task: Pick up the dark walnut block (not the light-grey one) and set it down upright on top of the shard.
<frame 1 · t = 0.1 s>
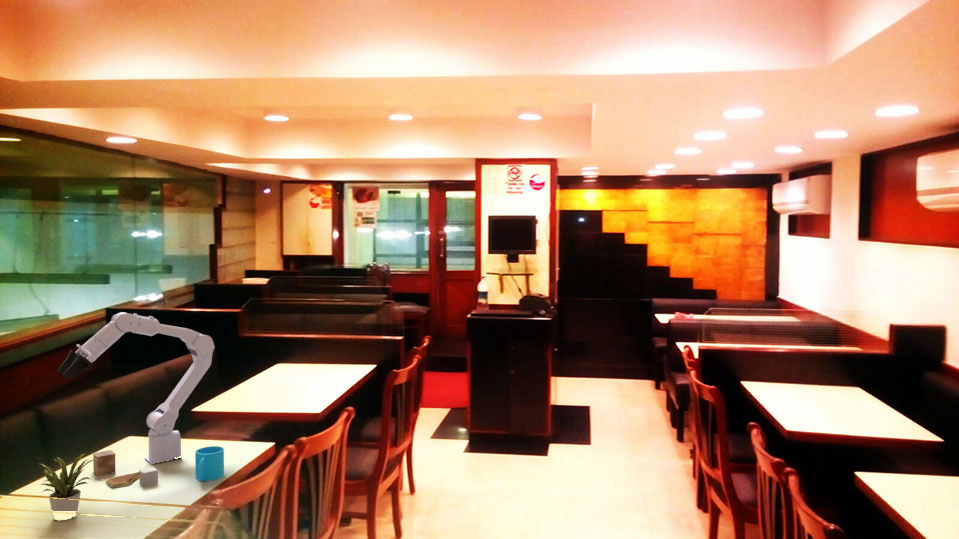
hand: (62, 375, 198), 32 cm above the table, tool tilted 50°, fingers open, 7 cm apart
light-grey block: (148, 483, 197), on the table
mug: (207, 479, 201), on the table
walnut block: (104, 472, 206), on the table
house plant: (71, 516, 173), on the table
shard: (122, 483, 198), on the table
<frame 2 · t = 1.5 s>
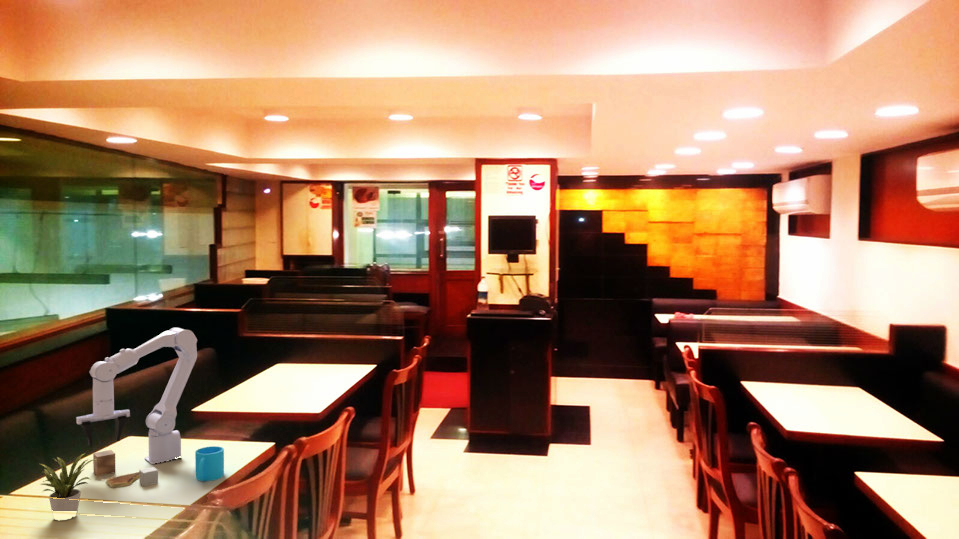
hand: (104, 442, 206), 9 cm above the table, tool pointing down, fingers open, 7 cm apart
nothing on the table moved.
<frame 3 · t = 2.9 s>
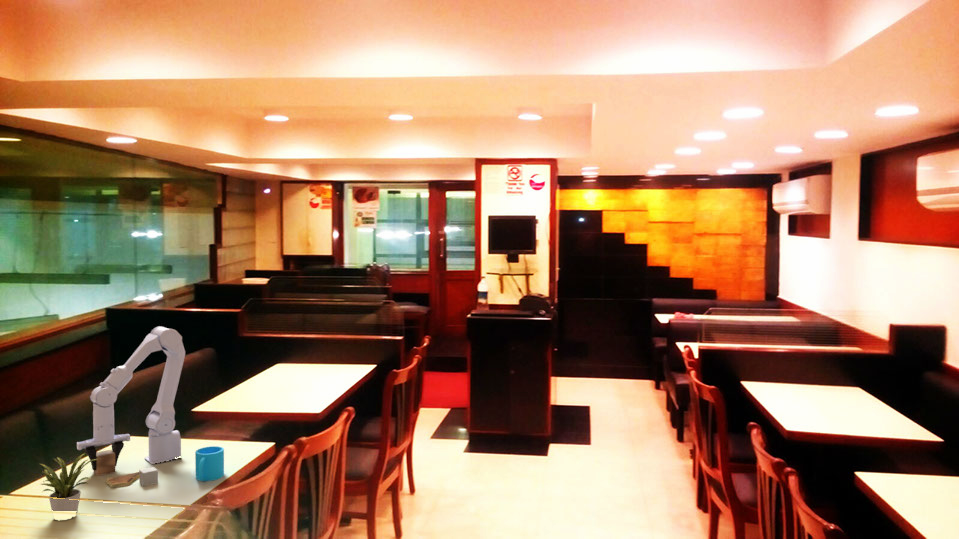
hand: (104, 467, 206), 1 cm above the table, tool pointing down, fingers closed on walnut block, 5 cm apart
walnut block: (104, 472, 206), on the table, touching gripper
everything else where it was.
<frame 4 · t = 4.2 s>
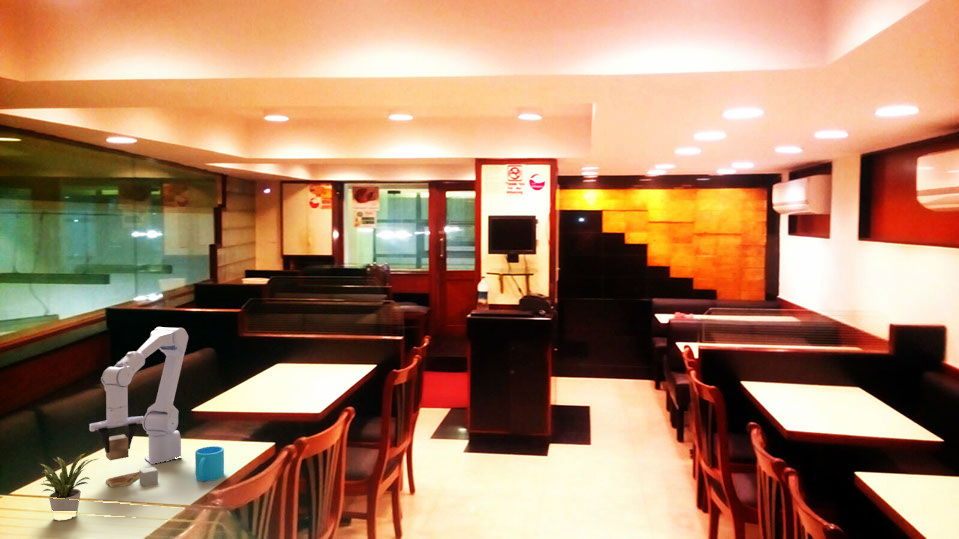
hand: (117, 450, 200), 9 cm above the table, tool pointing down, fingers closed on walnut block, 5 cm apart
walnut block: (117, 456, 200), point 7 cm above the table, touching gripper
everything else where it was.
when the fingers open (5 cm above the table, at t = 5.7 s): walnut block drops 1 cm, resting on shard.
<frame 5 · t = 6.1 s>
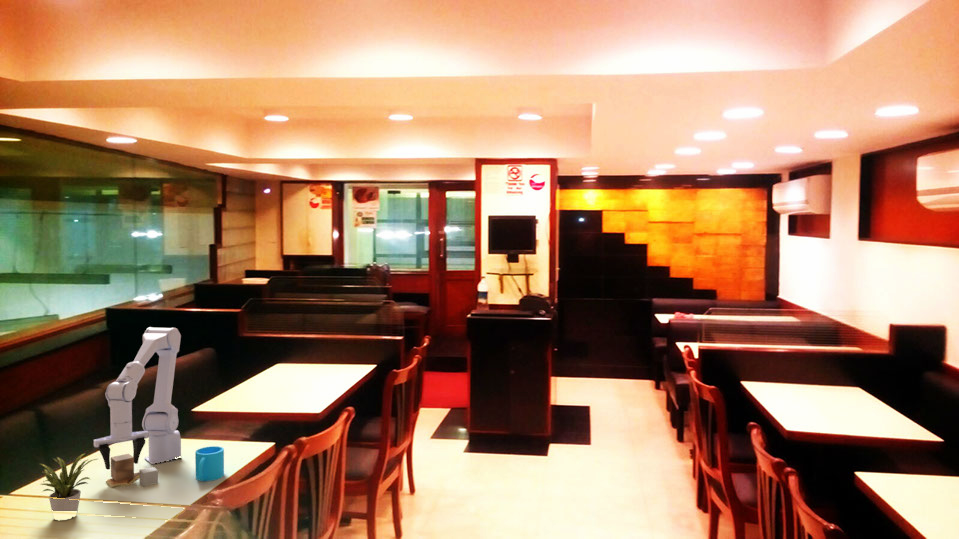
hand: (121, 465, 198), 5 cm above the table, tool pointing down, fingers open, 7 cm apart
walnut block: (122, 476, 199), point 1 cm above the table, touching shard
shard: (122, 483, 198), on the table, touching walnut block
everything else where it was.
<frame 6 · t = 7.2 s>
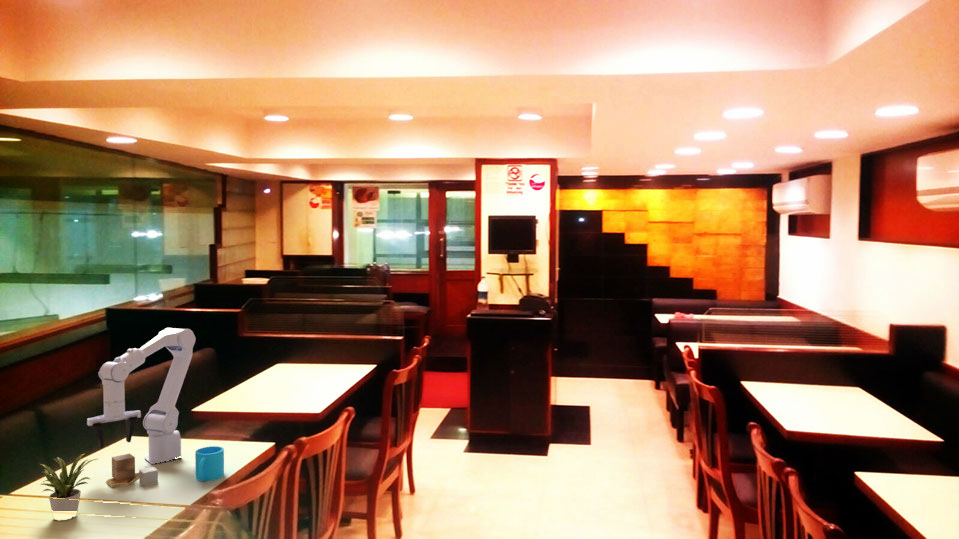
hand: (114, 444, 202), 10 cm above the table, tool pointing down, fingers open, 7 cm apart
nothing on the table moved.
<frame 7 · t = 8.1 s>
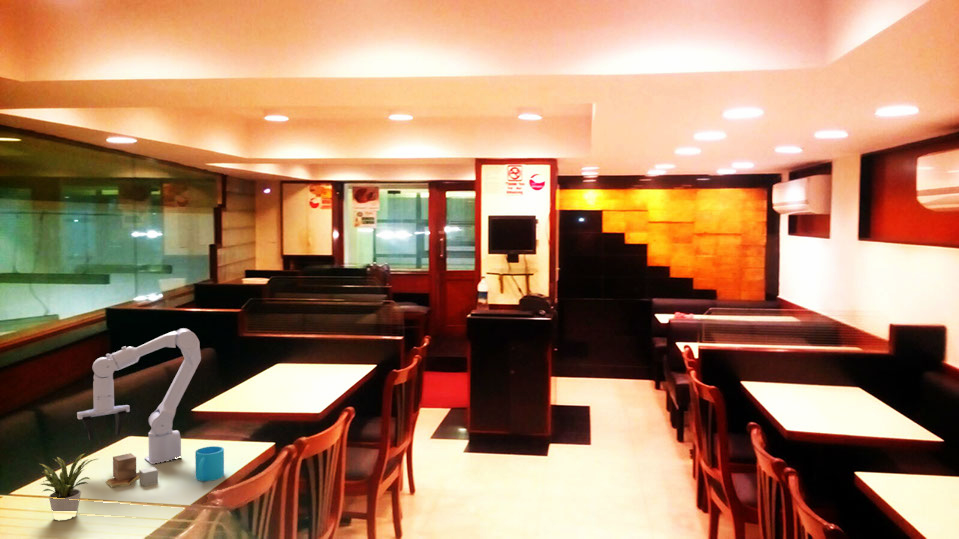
hand: (104, 437, 209), 10 cm above the table, tool pointing down, fingers open, 7 cm apart
walnut block: (124, 476, 199), point 1 cm above the table
shard: (122, 483, 198), on the table
everything else where it was.
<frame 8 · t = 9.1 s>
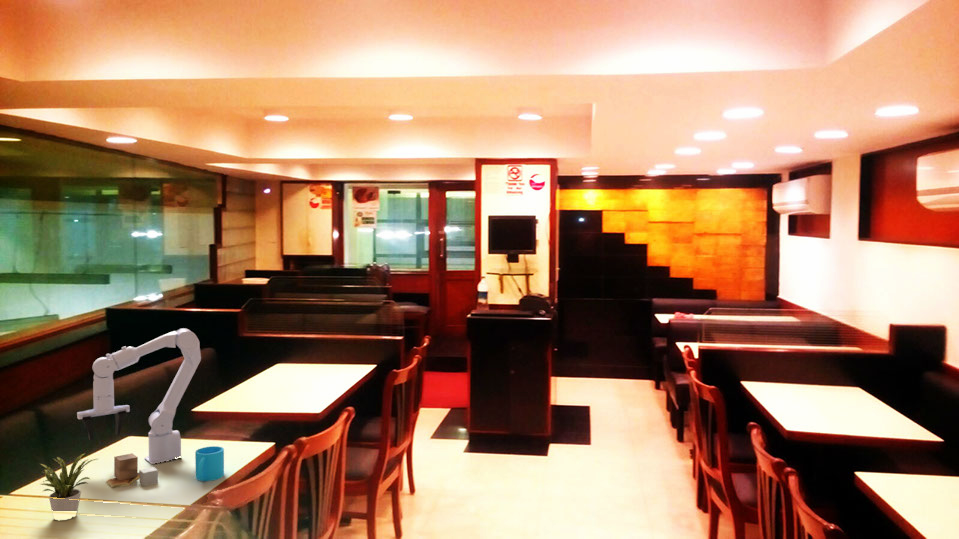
hand: (104, 437, 209), 10 cm above the table, tool pointing down, fingers open, 7 cm apart
walnut block: (125, 476, 199), point 1 cm above the table, touching shard
shard: (122, 483, 198), on the table, touching walnut block
everything else where it was.
at the end: walnut block inside the target area on the shard (0.9 cm from its centre), point 2.0 cm above the shard's base; walnut block tilted 1°; walnut block touching shard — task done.
